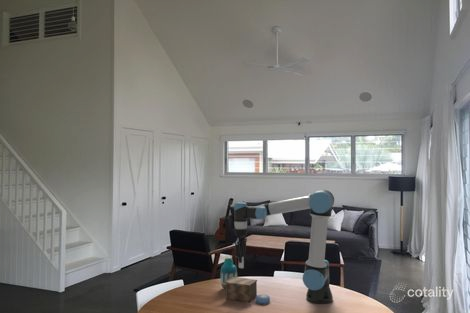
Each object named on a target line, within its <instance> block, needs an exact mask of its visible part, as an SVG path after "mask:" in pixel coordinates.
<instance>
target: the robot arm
mask: <svg viewBox="0 0 470 313" xmlns="http://www.w3.org/2000/svg"><path fill="white" fill-rule="evenodd" d="M334 204H335V197H334V195H333V193H332V192H331V191H329V190H327V189H320V190H317V191H315V192H312V193H311V192H310V193H309V194H308V195H306V196H300V197H294V198H289V199H285V200H278V201H273V202H269V203H262V204H258V205H255V206H254V205H250V206H249V205H248V203H247V202H245V201H244V202H235V203H234V207H233V212H234V222H233V224H234V235H235V236H236V241H235V240H234V245H235V253H236V257H237V258H238V268H239V269H244V268H245V266H244V265H245V260H244V257H246V251H247V241H248V238H246V236H247V235H248V219H249V220H265V219H266V218H267V217H269V216H272V215H279V214H280V215H281V214H286V213H290V212H297V211H302V210H308V209H309V215H310V216H311V227H310V228H311V230H310V240H309V249H308V250H309V251H308V259H307V260H306V261H305V262H304V263H305V264H304V272H303V274H302V282H303V285H304V286H305V287H306V288H307V291H306V297H305V298H306V301H308V302H311V303H314V304H319V305H320V304H322V305H324V304H330V303H332V302H333V301H334V300H333V298H334V297H333V293H332V291H331V290H332V289H331V287H330V263H329V262H330V261H328V260H327V259H325V258H326V247H327V246H326V244H327V234H328V221H329V219H330V218H331V217H332V211H333V210H332V209H333V206H334Z"/></svg>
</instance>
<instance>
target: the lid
mask: <svg viewBox="0 0 470 313" xmlns="http://www.w3.org/2000/svg"><path fill="white" fill-rule="evenodd" d="M255 282H258V279H253V278H247V277H246V278H245V277H238V276H237V277H233V278H231V279H229V280H227V281H226V282H225V283H227V284H234V288H240V285H241V286H248V287H250V286H251V285H252V284H254V283H255Z"/></svg>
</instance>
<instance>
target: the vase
mask: <svg viewBox="0 0 470 313" xmlns="http://www.w3.org/2000/svg"><path fill="white" fill-rule="evenodd" d="M223 262H224V263H223V264H222V265H221V267H220V285H221V287H222V289H224V290H226V283H225V282H226V281H227V280H229V279H231V278H233V277H238V271H237V270H238V268H237V266H236V264H234V260H233V258H231V257H228V258H224V260H223Z"/></svg>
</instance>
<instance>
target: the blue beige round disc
mask: <svg viewBox="0 0 470 313" xmlns="http://www.w3.org/2000/svg"><path fill="white" fill-rule="evenodd" d="M270 299H271V297H270V296H269V295H268V294H257V296H256V298H255V303H256V304H259V305H267V304H270V303H271V300H270Z"/></svg>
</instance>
